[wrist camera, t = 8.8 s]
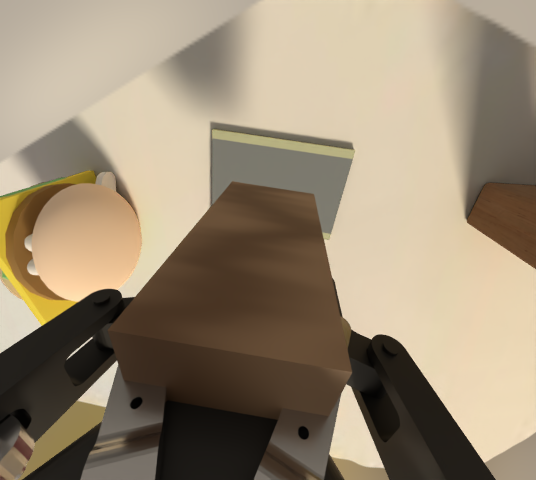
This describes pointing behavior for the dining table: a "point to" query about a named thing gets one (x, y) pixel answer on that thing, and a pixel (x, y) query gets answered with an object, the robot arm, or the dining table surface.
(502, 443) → the dining table surface
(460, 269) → the dining table surface
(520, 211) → the wooden block
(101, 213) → the hamburger
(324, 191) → the mat
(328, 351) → the walnut block
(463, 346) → the dining table surface
